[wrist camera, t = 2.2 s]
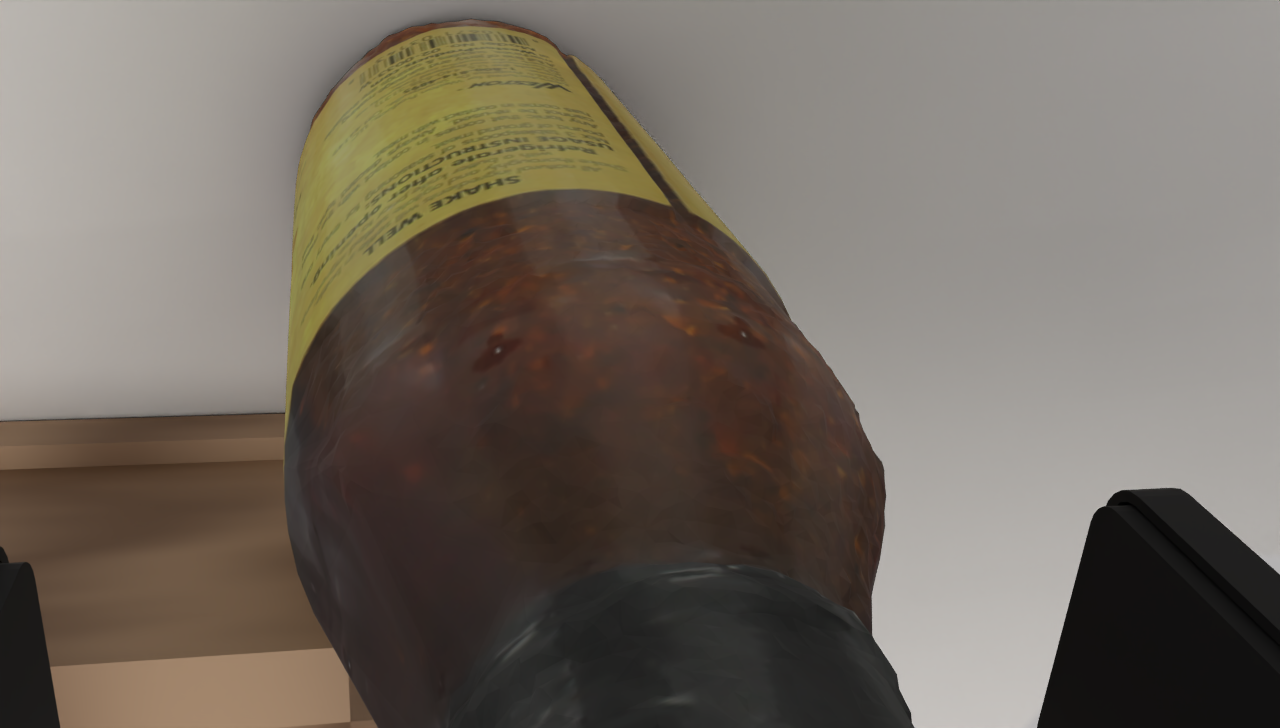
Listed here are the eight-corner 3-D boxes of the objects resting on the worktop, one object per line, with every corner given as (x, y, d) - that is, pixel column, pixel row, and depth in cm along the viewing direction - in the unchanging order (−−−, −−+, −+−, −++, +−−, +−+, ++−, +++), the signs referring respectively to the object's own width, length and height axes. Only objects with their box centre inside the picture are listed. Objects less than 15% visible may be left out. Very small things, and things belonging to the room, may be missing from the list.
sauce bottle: (244, 235, 23) (-149, 1682, 6) (399, -63, 21) (527, 688, 4) (543, 375, 26) (912, 1683, 8) (704, 117, 24) (1614, 1075, 6)
